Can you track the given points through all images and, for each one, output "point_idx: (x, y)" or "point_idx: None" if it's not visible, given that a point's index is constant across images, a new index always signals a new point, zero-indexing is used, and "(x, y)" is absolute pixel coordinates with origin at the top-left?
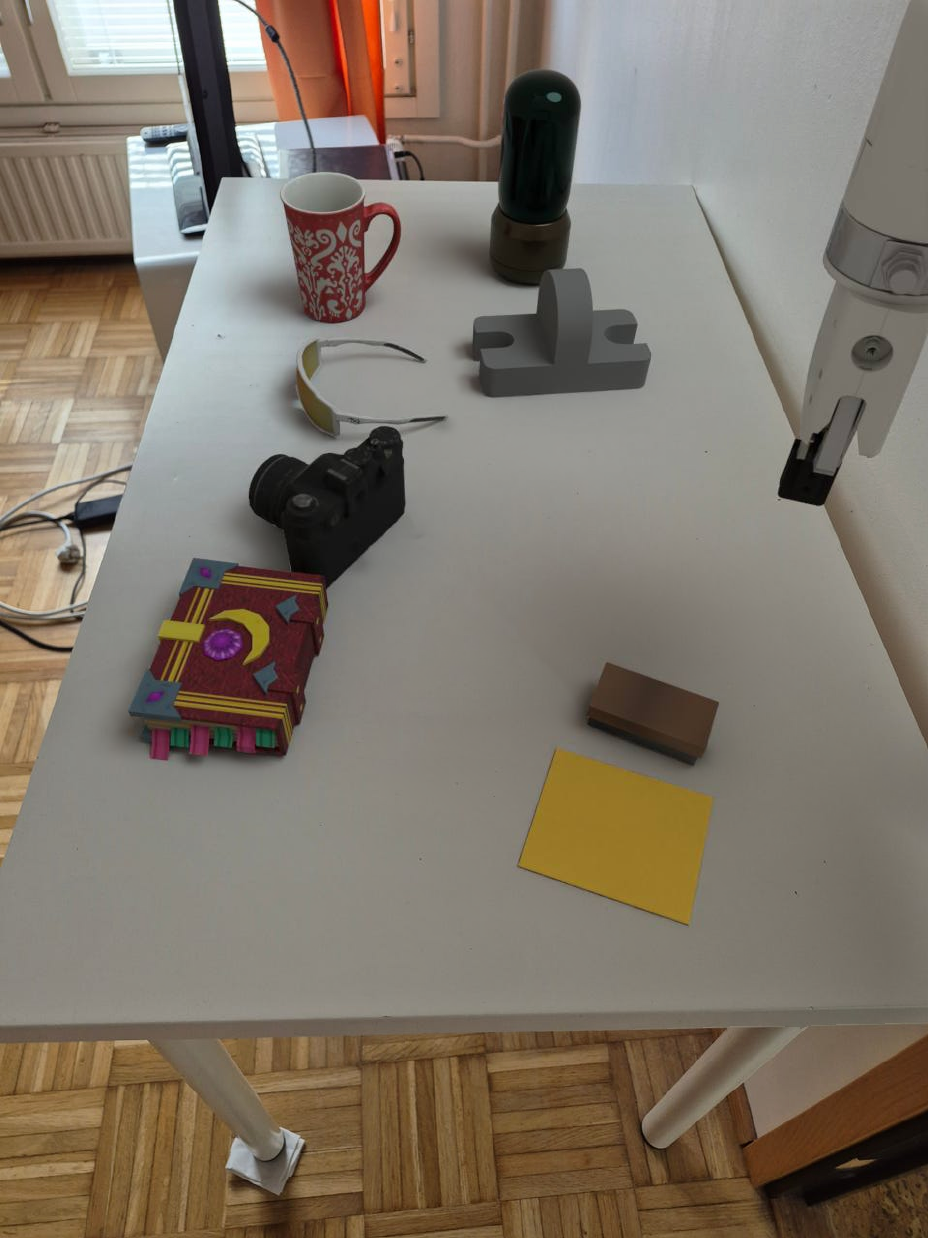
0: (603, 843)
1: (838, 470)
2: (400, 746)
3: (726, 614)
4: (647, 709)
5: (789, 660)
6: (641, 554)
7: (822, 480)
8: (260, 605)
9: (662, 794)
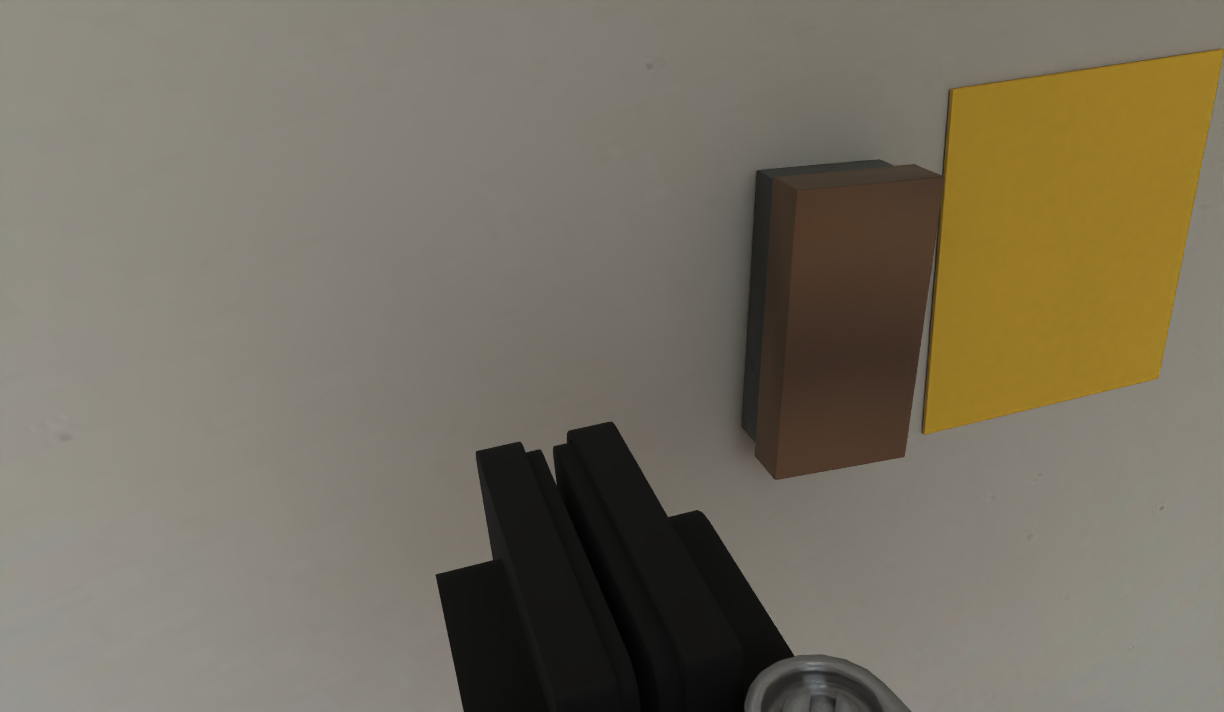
0: (1098, 266)
1: (712, 595)
2: (985, 644)
3: (347, 243)
4: (878, 343)
5: (429, 3)
6: (253, 539)
7: (755, 604)
8: None
9: (973, 200)
